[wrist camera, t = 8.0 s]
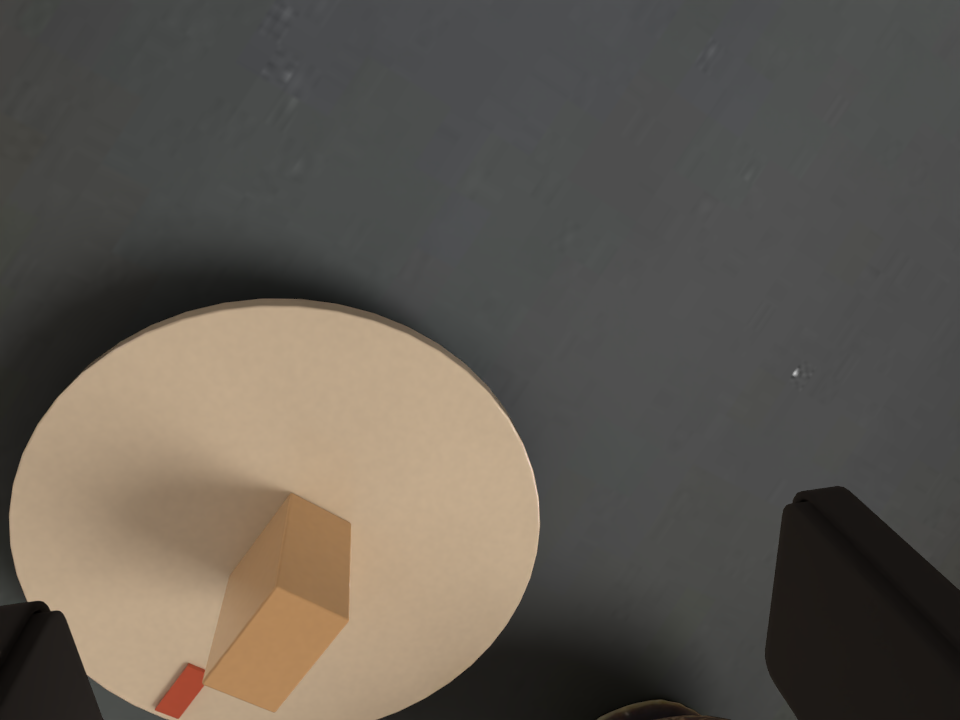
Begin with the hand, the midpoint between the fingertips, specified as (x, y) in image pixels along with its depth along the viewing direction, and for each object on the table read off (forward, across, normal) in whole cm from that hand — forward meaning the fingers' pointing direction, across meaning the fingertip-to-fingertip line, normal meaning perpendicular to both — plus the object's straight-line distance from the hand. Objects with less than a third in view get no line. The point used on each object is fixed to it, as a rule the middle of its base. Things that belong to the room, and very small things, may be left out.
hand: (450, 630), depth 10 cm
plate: (+20, +6, +12) cm, 25 cm away
